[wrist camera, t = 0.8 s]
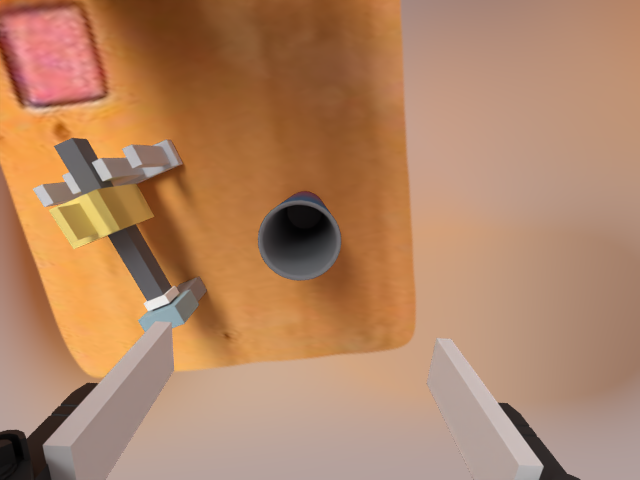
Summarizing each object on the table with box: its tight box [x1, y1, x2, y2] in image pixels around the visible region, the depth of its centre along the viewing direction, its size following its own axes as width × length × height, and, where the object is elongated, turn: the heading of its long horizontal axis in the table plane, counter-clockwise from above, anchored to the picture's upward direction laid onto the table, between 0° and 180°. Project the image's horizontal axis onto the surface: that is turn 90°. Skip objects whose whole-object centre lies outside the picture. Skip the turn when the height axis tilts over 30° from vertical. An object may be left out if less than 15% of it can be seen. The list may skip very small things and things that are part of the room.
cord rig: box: [33, 138, 207, 332], centre depth 36 cm, size 21×13×9 cm, turn 22°
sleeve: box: [49, 183, 155, 249], centre depth 31 cm, size 4×5×9 cm
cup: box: [258, 191, 341, 280], centre depth 33 cm, size 7×7×15 cm
